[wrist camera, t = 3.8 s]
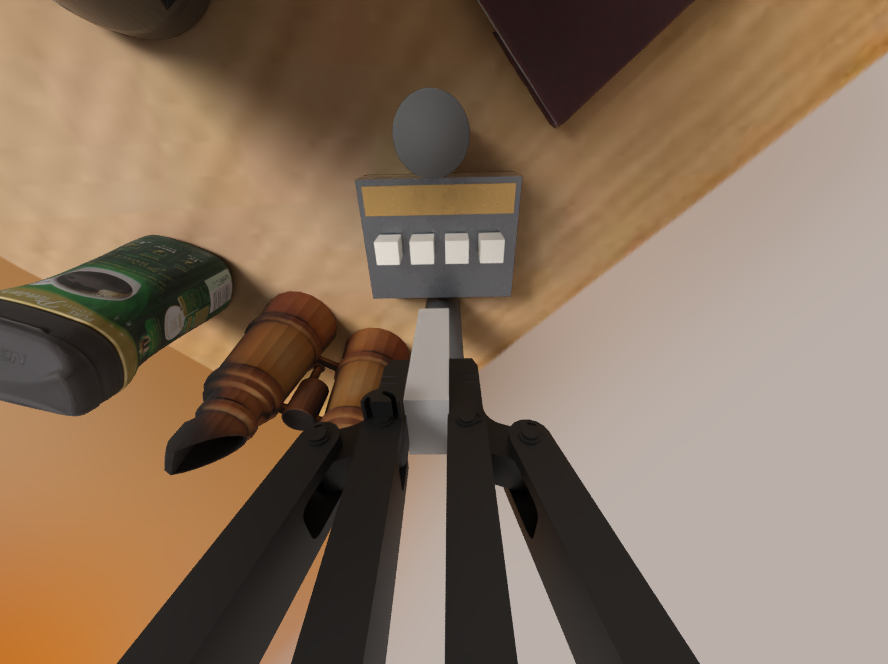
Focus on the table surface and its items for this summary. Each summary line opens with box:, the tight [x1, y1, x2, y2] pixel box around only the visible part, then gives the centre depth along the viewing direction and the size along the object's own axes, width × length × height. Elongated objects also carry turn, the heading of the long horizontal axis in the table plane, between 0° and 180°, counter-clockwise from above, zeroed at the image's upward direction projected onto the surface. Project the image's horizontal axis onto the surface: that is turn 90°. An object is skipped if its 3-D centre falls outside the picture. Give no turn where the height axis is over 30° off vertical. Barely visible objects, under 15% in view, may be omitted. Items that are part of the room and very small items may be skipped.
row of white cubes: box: [374, 232, 505, 265], centre depth 28 cm, size 2×11×2 cm, turn 91°
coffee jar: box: [0, 235, 233, 416], centre depth 28 cm, size 10×8×19 cm
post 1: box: [392, 88, 470, 179], centre depth 22 cm, size 4×4×14 cm
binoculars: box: [165, 291, 409, 475], centre depth 31 cm, size 18×8×20 cm, turn 61°
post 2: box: [425, 297, 464, 359], centre depth 31 cm, size 4×4×14 cm
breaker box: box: [355, 171, 522, 299], centre depth 31 cm, size 11×14×4 cm
